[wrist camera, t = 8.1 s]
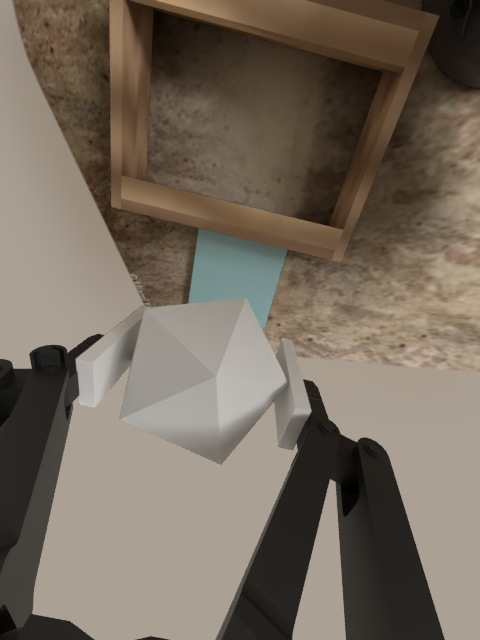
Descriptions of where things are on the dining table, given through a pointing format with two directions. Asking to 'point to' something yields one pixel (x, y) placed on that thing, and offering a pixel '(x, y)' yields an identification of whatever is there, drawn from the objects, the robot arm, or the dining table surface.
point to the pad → (236, 271)
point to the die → (201, 376)
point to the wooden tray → (286, 29)
